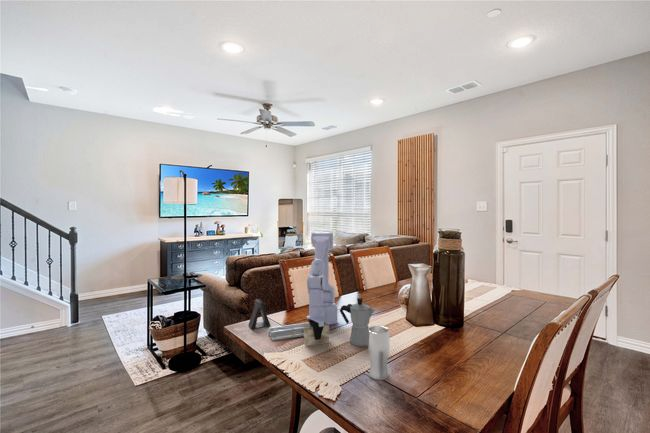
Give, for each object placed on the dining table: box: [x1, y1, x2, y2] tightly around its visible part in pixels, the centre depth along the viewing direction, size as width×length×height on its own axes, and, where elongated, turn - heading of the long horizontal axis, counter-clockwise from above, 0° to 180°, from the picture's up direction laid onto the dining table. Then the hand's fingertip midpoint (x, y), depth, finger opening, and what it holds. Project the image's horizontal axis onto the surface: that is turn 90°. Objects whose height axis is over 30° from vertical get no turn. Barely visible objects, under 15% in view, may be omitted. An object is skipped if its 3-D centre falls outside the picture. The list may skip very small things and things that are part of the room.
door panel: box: [303, 323, 330, 347], centre depth 122 cm, size 10×2×7 cm, turn 109°
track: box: [268, 321, 310, 342], centre depth 132 cm, size 20×10×3 cm, turn 109°
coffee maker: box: [339, 297, 376, 348], centre depth 122 cm, size 15×9×18 cm, turn 71°
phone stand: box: [248, 298, 272, 330], centre depth 141 cm, size 9×6×12 cm, turn 116°
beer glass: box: [367, 325, 390, 381], centre depth 98 cm, size 7×7×15 cm
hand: (316, 337), depth 122 cm, fingers closed on door panel, 2 cm apart
